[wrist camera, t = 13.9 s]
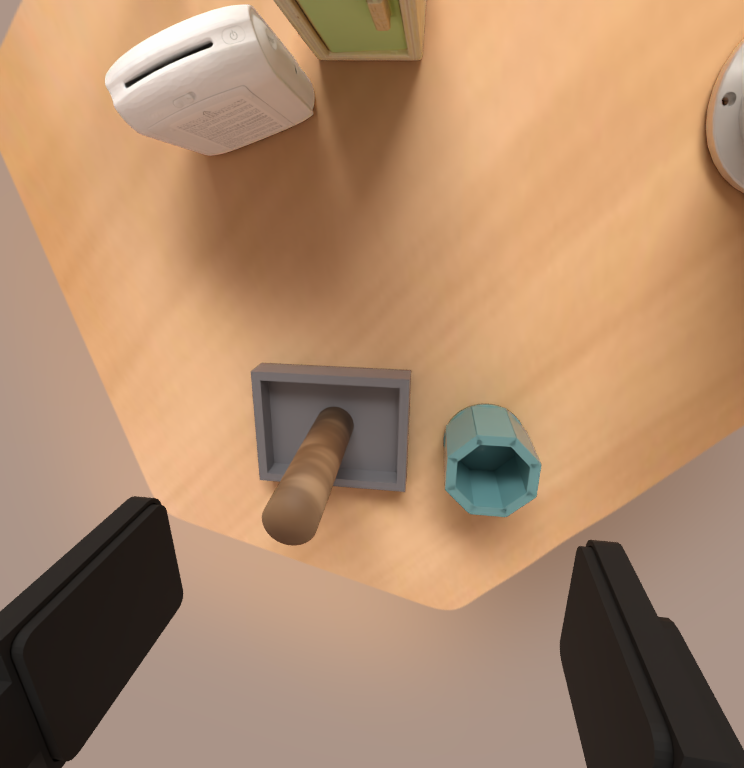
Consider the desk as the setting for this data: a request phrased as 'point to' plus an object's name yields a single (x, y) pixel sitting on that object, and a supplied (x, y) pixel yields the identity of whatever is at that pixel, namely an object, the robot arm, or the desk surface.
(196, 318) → the desk surface
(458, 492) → the cup
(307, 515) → the dowel
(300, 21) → the toy refrigerator
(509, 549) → the desk surface
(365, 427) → the tray
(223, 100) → the photo printer
